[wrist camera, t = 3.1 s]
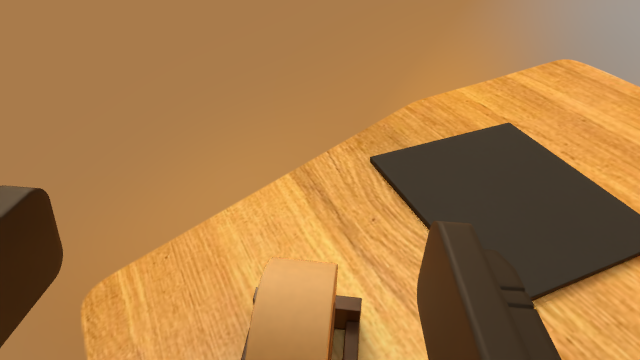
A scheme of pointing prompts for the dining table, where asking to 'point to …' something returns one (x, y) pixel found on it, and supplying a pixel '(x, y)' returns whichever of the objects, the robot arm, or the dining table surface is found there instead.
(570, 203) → the mat
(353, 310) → the holder
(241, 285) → the dining table surface
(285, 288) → the tape roll
